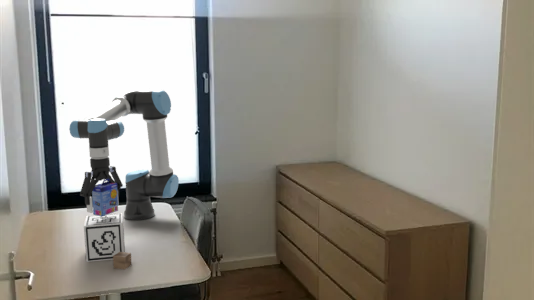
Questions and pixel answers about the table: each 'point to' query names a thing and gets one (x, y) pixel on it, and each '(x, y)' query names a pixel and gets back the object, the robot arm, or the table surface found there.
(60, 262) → the table surface
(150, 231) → the table surface
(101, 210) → the ink cartridge box
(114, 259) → the walnut cube
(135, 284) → the table surface
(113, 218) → the block
